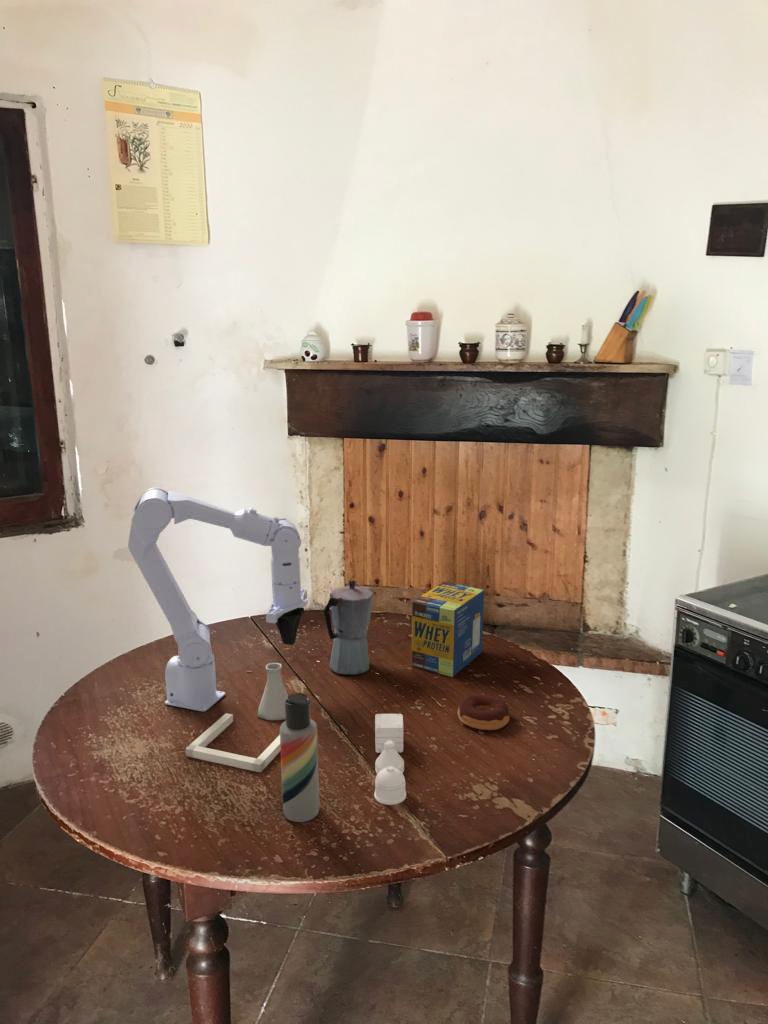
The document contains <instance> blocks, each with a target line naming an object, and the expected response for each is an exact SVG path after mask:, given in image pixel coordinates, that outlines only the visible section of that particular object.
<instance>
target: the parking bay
mask: <svg viewBox="0 0 768 1024" xmlns="http://www.w3.org/2000/svg"><path fill="white" fill-rule="evenodd" d="M233 722H234V714H232V713H228V712H226V713H224V714H223V715H222V716H220V717H219V719H218V720H216V721H215V722H214V723H213V724H212V725H211V726H209V728H207V729H206V730H205V731H203V732H202V733H201V734H200V735H199V736H198V737H197V738H195V740H193V741H192V742H191V743H190V744H189V745H188V746H186V748H185V756H186V757H187V758H192V759H197V760H202V761H206V762H211V763H217V764H220V765H223V766H225V765H226V766H230V767H234V768H238V769H243V770H248V771H251V772H256V773H262V772H263V771H264V770H265V768H267V766H268V765H269V764H270V763H271V762H272V761H273V760H274V759H275V757H277V755H278V754H279V753H281V748H280V734H278V736H277V737H276V738H275V739H274V740H273V741H272V742H271V743H270V744H269V745H268V747H266V748H265V749H264V750H263V752H262V753H260V754H259V755H258V757H257V758H256V757H253V756H252V757H251V756H246V755H241V754H237V753H233V752H232V753H231V752H228V751H223V750H219V749H213V748H208V747H207V746H208V745H209V744H210V743H211V742H212V741H214V740H215V739H216V737H218V736H219V735H220V734H221V733H222V732H224V731H225V729H227V728H228V727H229V726H230V725H231V724H233Z"/></svg>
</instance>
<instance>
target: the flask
mask: <svg viewBox="0 0 768 1024" xmlns="http://www.w3.org/2000/svg"><path fill="white" fill-rule="evenodd" d="M282 667H283V665H282V663H279V662H269V663H267V664H266V665H265V671H266V674H267V675H266V676H267V678H266V684H265V687H264V690H263V694H262V697H261V700H260V702H259V703H260V704H259V705H258V709H257V718H260V719H264V720H266V721H283V720H284V721H286V715H285V700H286V698H287V697H288V696H289V694H288V692H287V690H286V687H285V685H284V683H283V679H282V674H281V672H282V671H281V670H282V669H283V668H282Z"/></svg>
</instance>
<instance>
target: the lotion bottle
mask: <svg viewBox="0 0 768 1024" xmlns="http://www.w3.org/2000/svg"><path fill="white" fill-rule="evenodd" d="M285 715H286V719H285V720H284V721H283V722H282V723H281V724H280V727H279V735H280V748H281V751H280V767H281V768H280V769H281V770H280V771H281V786H282V788H281V789H282V793H281V795H282V810H283V815H284V817H285V818H286V819H287V820H289V821H291V822H295V823H305V822H308V821H312V820H313V819H315V818H316V817H317V816H318V815H319V811H320V788H319V787H320V784H319V783H320V782H319V780H320V779H319V753H318V752H319V751H318V750H319V748H318V747H319V746H318V744H319V743H318V726H317V723H316V722H315V721H314V720H313V719H312V718H311V699H310V697H309V696H308V695H306V694H304V693H301V692H295V693H290V694H288V697H287V698H286V700H285Z"/></svg>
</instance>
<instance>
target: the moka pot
mask: <svg viewBox="0 0 768 1024" xmlns="http://www.w3.org/2000/svg"><path fill="white" fill-rule="evenodd" d="M356 582H357V581H355V580H349V581H348V586H342V587H335V588H334V589H333V590H331V592H330V593H329V598H328V599H329V600H328V602H327V603H326V605H325V607H324V609H323V613H324V614H323V615H324V618H325V624H326V628H327V630H328V631H327V632H328V637H329V639H330V640H333V644H332V649H331V655H330V662H329V668H330V670H331V671H333V672H334V673H336V674H340V675H345V676H346V675H348V676H350V675H359V674H363V673H365V672H367V671H369V670H370V661H369V650H368V639H367V634H368V627H369V625H370V622H371V621H370V620H371V614H372V608H373V607H372V606H373V600H374V594H375V593H374V592H373V591H371V590H372V588H371V587H368V586H356V584H357V583H356ZM330 609H331V615H330ZM331 620H332V623H331ZM332 626H333V627H334V629H332ZM333 630H334V631H333Z"/></svg>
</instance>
